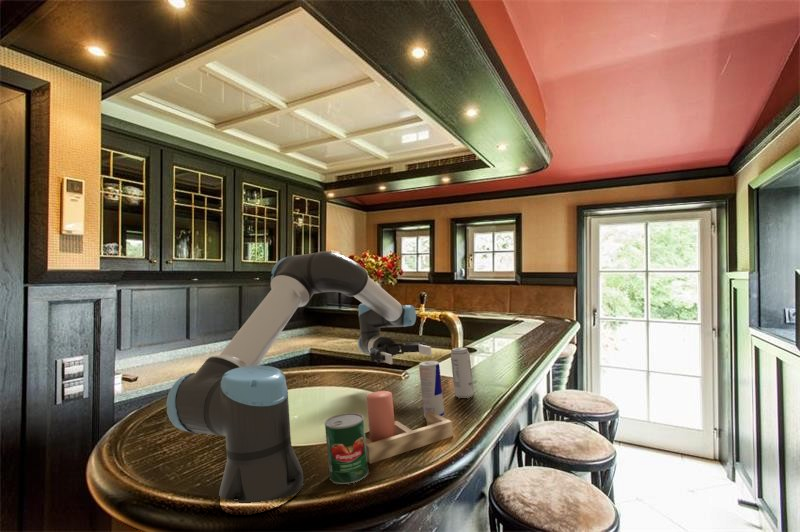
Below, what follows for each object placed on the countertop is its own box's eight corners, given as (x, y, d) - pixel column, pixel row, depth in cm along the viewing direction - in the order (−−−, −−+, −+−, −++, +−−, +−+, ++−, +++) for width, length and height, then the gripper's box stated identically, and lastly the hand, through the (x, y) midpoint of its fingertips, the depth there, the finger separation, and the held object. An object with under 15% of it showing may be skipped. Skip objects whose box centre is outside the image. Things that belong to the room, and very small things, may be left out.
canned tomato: (353, 461, 81) (349, 410, 82) (376, 472, 75) (371, 417, 76) (321, 476, 76) (317, 421, 76) (343, 489, 70) (338, 430, 71)
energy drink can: (475, 398, 115) (470, 349, 116) (456, 400, 115) (451, 351, 116) (472, 392, 121) (467, 346, 122) (453, 394, 122) (449, 348, 122)
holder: (370, 463, 79) (368, 446, 79) (354, 448, 88) (353, 433, 88) (453, 436, 89) (451, 421, 89) (432, 424, 98) (430, 411, 98)
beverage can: (443, 421, 99) (438, 364, 100) (422, 421, 100) (417, 365, 101) (445, 413, 105) (440, 359, 106) (425, 414, 106) (420, 360, 107)
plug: (377, 455, 83) (372, 400, 83) (367, 446, 88) (362, 395, 89) (401, 447, 86) (396, 394, 86) (390, 439, 91) (385, 389, 91)
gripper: (414, 351, 137) (446, 359, 119) (349, 364, 126) (374, 376, 107) (411, 331, 138) (444, 336, 119) (347, 342, 126) (372, 350, 107)
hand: (411, 355), depth 113 cm, fingers open, 13 cm apart
